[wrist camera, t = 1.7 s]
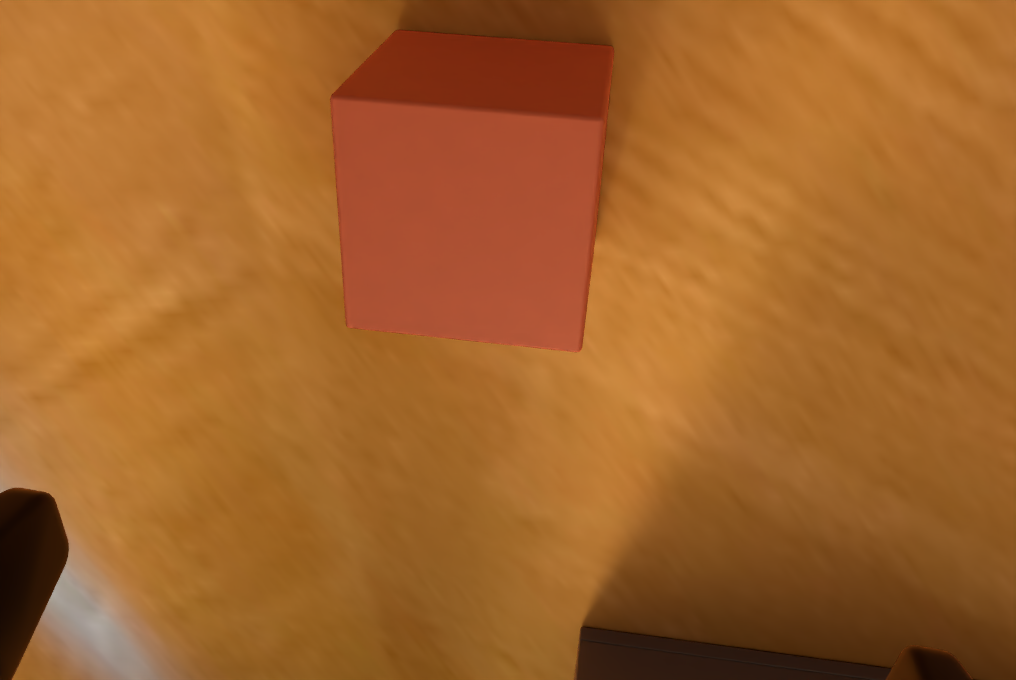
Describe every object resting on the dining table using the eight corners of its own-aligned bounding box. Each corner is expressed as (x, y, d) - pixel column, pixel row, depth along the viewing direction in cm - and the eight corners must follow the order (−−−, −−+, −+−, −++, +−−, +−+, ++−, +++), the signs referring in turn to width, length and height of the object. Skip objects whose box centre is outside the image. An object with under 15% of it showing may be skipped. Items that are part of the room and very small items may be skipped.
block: (400, 228, 21) (344, 329, 17) (394, 28, 18) (328, 94, 15) (594, 246, 20) (581, 354, 17) (614, 45, 18) (604, 117, 14)
